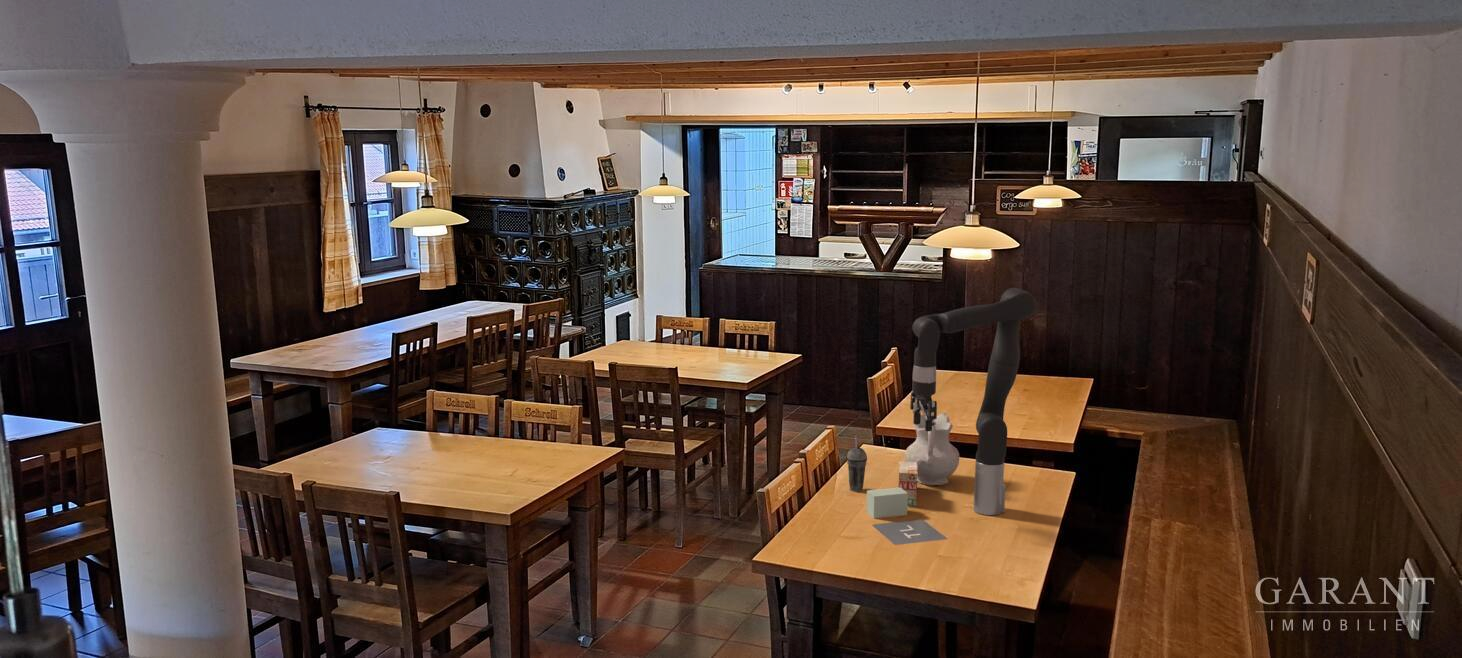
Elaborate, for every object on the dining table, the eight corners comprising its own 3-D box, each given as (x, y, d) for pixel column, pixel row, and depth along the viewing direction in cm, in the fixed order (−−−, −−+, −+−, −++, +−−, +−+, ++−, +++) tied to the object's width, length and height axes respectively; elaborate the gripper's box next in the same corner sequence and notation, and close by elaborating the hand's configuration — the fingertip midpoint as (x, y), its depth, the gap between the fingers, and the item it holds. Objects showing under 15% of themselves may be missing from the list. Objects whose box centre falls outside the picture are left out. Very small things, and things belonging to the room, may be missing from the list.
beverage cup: (869, 488, 373) (871, 434, 370) (861, 494, 367) (862, 439, 363) (851, 485, 377) (852, 431, 373) (842, 490, 371) (843, 436, 367)
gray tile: (922, 520, 342) (922, 519, 342) (948, 539, 325) (948, 538, 325) (871, 525, 337) (871, 524, 337) (894, 545, 320) (894, 544, 320)
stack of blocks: (898, 486, 376) (899, 453, 374) (916, 487, 375) (917, 454, 373) (897, 506, 355) (898, 471, 353) (916, 507, 354) (917, 472, 352)
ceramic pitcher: (962, 494, 370) (970, 426, 366) (907, 490, 370) (915, 422, 366) (950, 475, 392) (958, 411, 387) (898, 471, 392) (906, 406, 387)
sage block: (866, 513, 349) (866, 490, 347) (899, 510, 352) (900, 487, 350) (873, 519, 343) (874, 496, 341) (907, 516, 346) (907, 493, 345)
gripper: (904, 375, 344) (902, 422, 347) (923, 384, 330) (921, 434, 333) (925, 373, 346) (923, 421, 349) (945, 383, 332) (943, 432, 335)
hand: (922, 427), depth 341 cm, fingers open, 8 cm apart
